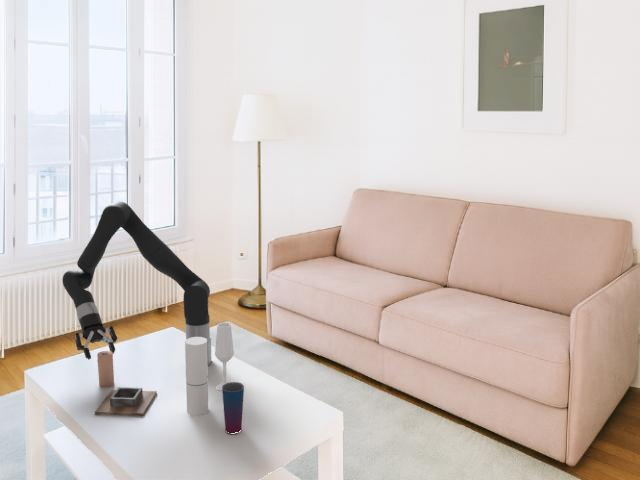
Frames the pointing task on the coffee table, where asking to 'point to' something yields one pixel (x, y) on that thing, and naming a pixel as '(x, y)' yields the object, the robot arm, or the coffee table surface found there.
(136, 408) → the holder
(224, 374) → the champagne flute
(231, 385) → the cup
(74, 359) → the coffee table surface
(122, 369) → the coffee table surface
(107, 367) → the roll
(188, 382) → the cylindrical container
